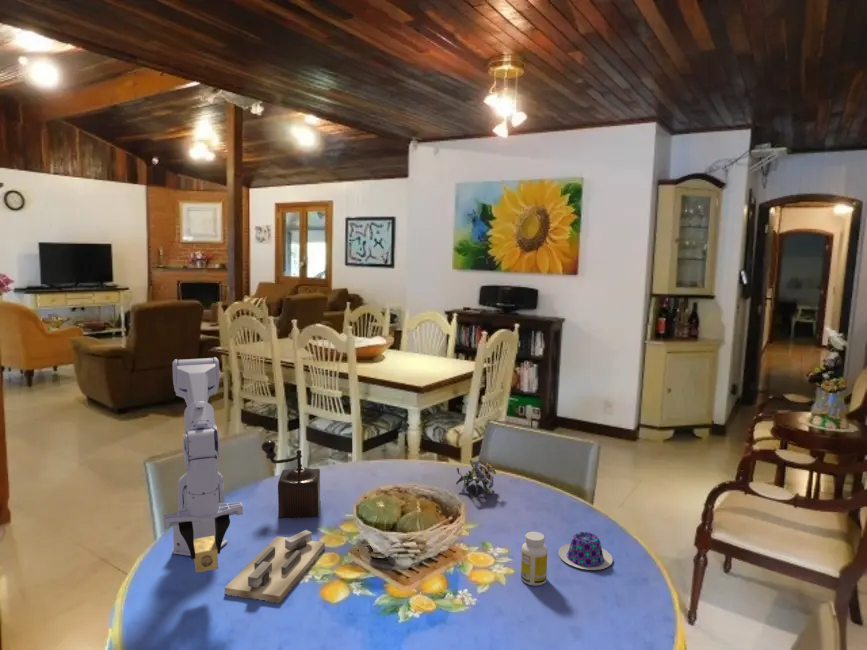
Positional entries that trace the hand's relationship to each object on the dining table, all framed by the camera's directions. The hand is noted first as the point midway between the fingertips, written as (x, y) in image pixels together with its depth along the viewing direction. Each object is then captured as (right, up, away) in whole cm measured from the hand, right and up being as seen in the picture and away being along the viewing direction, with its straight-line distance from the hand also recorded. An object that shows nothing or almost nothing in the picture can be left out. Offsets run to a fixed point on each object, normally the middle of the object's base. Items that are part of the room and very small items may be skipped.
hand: (205, 554), depth 118 cm
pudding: (+80, -8, +17) cm, 82 cm away
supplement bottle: (+67, -9, +8) cm, 68 cm away
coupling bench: (+12, -7, +10) cm, 17 cm away
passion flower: (+58, -3, +53) cm, 78 cm away
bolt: (+33, -6, +23) cm, 41 cm away
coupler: (0, -2, 0) cm, 2 cm away
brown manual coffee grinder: (+7, -4, +40) cm, 40 cm away
